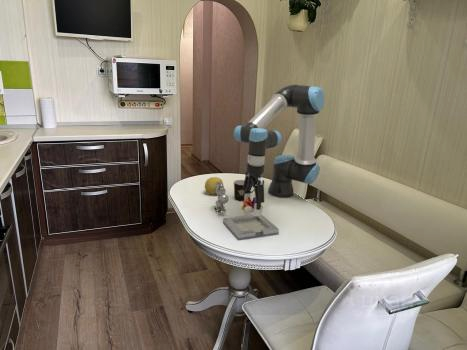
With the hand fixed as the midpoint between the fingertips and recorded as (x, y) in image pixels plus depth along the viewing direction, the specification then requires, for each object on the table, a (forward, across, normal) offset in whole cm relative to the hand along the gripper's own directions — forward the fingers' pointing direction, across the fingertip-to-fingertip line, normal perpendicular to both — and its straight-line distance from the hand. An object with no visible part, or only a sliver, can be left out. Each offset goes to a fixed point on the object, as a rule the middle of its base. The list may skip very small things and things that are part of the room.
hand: (251, 211), depth 160 cm
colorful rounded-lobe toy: (+1, 0, 0) cm, 1 cm away
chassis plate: (+9, 0, 0) cm, 9 cm away
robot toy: (+9, -22, -6) cm, 25 cm away
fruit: (+9, -47, -1) cm, 48 cm away
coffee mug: (+9, -34, +12) cm, 37 cm away
